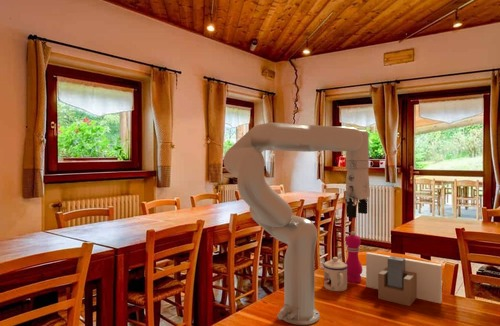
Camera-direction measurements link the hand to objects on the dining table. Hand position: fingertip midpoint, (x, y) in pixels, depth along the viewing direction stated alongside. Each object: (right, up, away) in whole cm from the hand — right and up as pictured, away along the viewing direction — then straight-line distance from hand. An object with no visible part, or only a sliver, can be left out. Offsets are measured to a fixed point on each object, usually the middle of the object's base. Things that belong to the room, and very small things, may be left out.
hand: (357, 215), depth 126 cm
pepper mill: (+5, -30, +23) cm, 38 cm away
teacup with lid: (-4, -30, +13) cm, 33 cm away
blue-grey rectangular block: (+15, -26, +3) cm, 30 cm away
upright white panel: (+16, -30, +4) cm, 34 cm away
